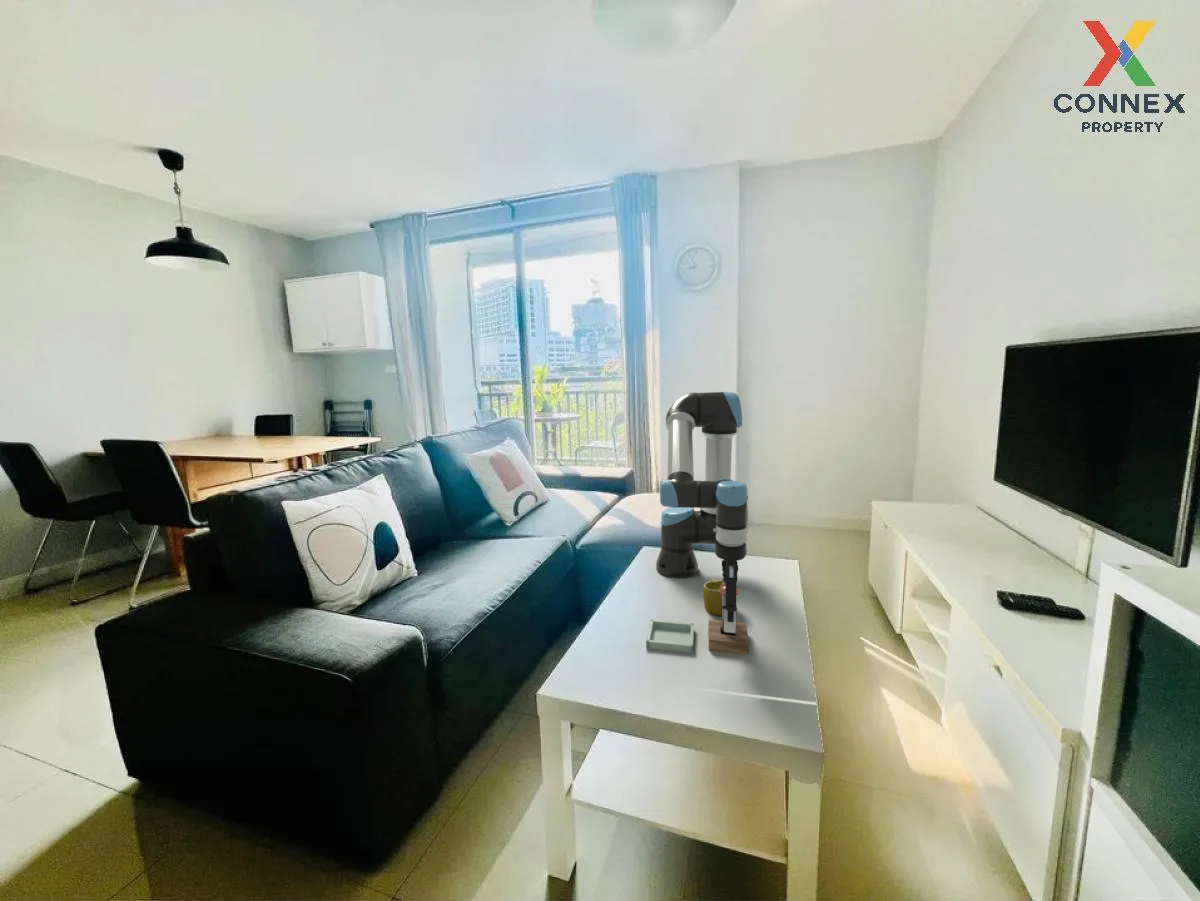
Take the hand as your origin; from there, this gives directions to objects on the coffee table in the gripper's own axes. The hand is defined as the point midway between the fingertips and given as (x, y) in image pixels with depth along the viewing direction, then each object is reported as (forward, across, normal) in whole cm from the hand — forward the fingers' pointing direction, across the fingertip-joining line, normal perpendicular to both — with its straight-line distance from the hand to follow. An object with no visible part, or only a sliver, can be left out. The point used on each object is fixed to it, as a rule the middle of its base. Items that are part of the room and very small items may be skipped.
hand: (728, 618), depth 123 cm
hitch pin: (+7, 0, 0) cm, 7 cm away
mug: (+8, -19, -2) cm, 21 cm away
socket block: (+7, 0, 0) cm, 7 cm away
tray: (+7, +2, -15) cm, 17 cm away
